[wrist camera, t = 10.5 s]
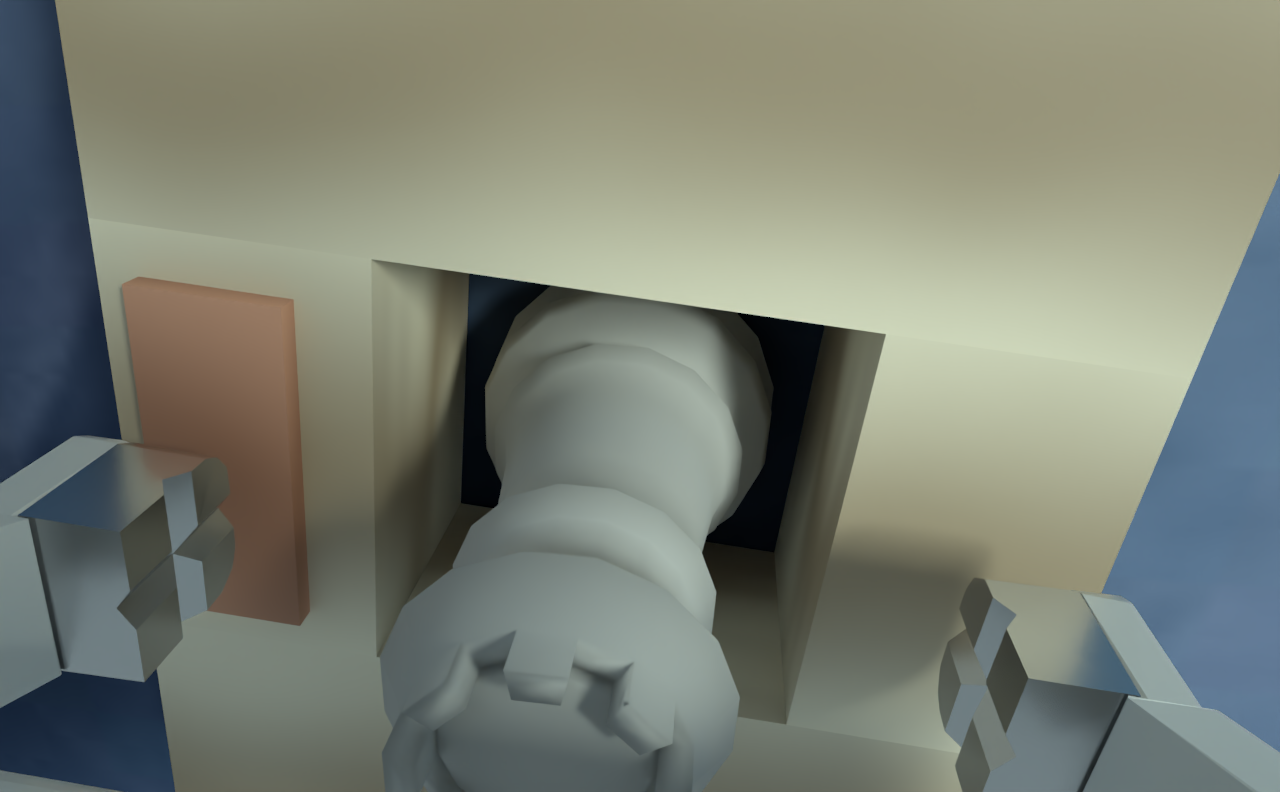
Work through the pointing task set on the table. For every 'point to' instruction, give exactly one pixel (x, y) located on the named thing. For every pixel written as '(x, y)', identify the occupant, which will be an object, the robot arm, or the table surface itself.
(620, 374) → the rook chess piece
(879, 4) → the socket block
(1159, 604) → the table surface
